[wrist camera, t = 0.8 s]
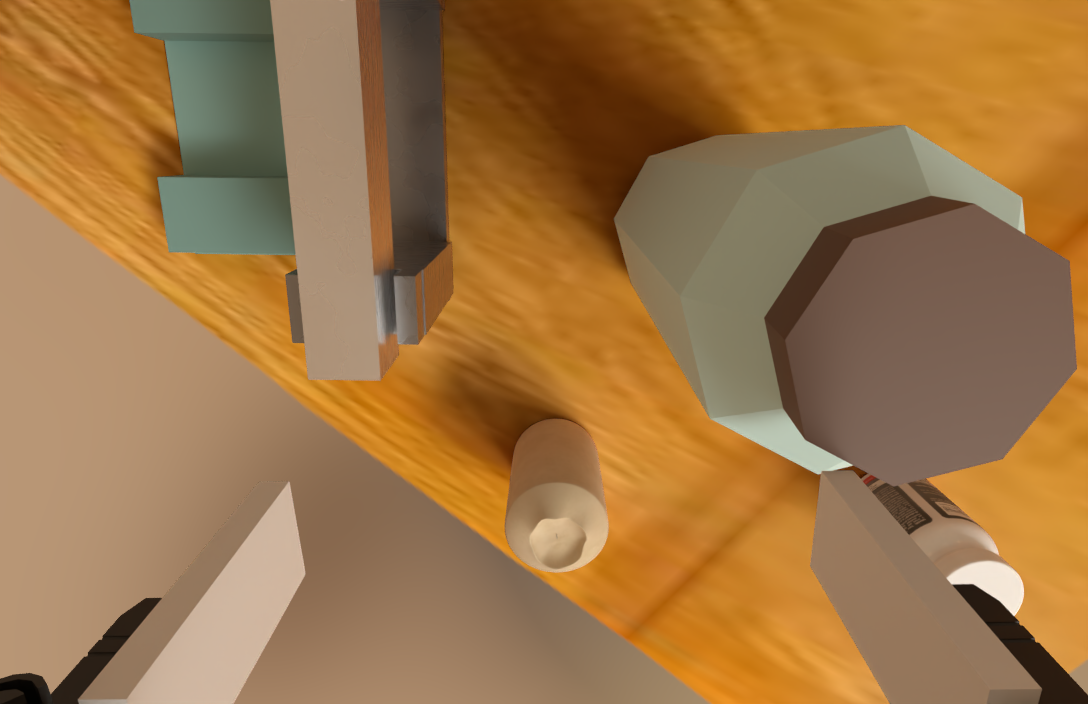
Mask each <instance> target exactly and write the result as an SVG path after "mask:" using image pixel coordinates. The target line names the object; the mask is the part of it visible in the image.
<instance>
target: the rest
mask: <svg viewBox="0 0 1088 704" xmlns="http://www.w3.org/2000/svg"><path fill="white" fill-rule="evenodd" d="M129 1H130V7H131V13H132V20H133V26H134V33H138V34H142V35H145V36H149V37H153V38H157V39H160V40H164V41H165V48H166V55H167V62H168V68H169V75H170V82H171V89H172V96H173V103H174V110H175V117H176V124H177V130H178V137H179V144H180V151H181V158H182V165H183V172H184V175H176V176H164V177H157V179H158V185H159V192H160V198H161V204H162V211H163V217H164V223H165V230H166V236H167V243H168V249H169V252H191V253H195V254H264V255H296V253H295V243H294V233H293V223H292V213H291V204H290V194H289V184H288V174H287V164H286V154H285V144H284V134H283V124H282V114H281V104H280V94H279V84H278V74H277V64H276V54H275V44H274V34H273V24H272V14H271V4H270V0H129Z"/></svg>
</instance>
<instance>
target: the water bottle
mask: <svg viewBox="0 0 1088 704" xmlns="http://www.w3.org/2000/svg"><path fill="white" fill-rule="evenodd" d="M614 222H615V225H616V229H617V233H618V237H619V240H620V244H621V248H622V252H623V255H624V259H625V263H626V267H627V270H628V274H629V278H630V282H631V284H632V286H633V287H634V289H635V291H636V293H637V294H638V296H639V298H640V299H641V301H642V303H643V305H644V306H645V308H646V310H647V311H648V313H649V315H650V317H651V318H652V320H653V322H654V323H655V325H656V327H657V329H658V330H659V332H660V334H661V335H662V337H663V339H664V341H665V342H666V344H667V346H668V347H669V349H670V351H671V353H672V354H673V356H674V358H675V359H676V361H677V363H678V365H679V366H680V368H681V370H682V371H683V373H684V375H685V377H686V378H687V380H688V382H689V383H690V385H691V387H692V389H693V390H694V392H695V394H696V395H697V397H698V399H699V401H700V402H701V404H702V406H703V407H704V409H705V411H706V413H707V414H708V416H709V418H710V419H712V420H714V421H716V422H718V423H720V424H721V425H723V426H725V427H727V428H729V429H731V430H733V431H735V432H737V433H739V434H741V435H743V436H745V437H747V438H748V439H750V440H752V441H754V442H756V443H758V444H760V445H762V446H764V447H766V448H768V449H770V450H772V451H774V452H775V453H777V454H779V455H781V456H783V457H785V458H787V459H789V460H791V461H793V462H795V463H797V464H799V465H801V466H802V467H804V468H806V469H808V470H810V471H812V472H814V473H816V474H821V471H833V470H837V469H841V468H845V467H849V466H855V467H857V468H859V469H861V470H863V471H865V472H867V473H869V474H871V475H872V476H874V477H876V478H878V479H880V480H882V481H884V482H886V483H888V484H890V485H892V486H893V487H894V486H898V485H902V484H906V483H910V482H914V481H918V480H922V479H926V478H929V477H933V476H937V475H941V474H945V473H949V472H953V471H957V470H961V469H965V468H969V467H973V466H977V465H981V464H985V463H989V462H993V461H997V460H1001V459H1003V458H1004V457H1005V455H1006V454H1007V453H1008V452H1009V451H1010V449H1011V448H1012V447H1013V446H1014V444H1015V443H1016V442H1017V441H1018V440H1019V438H1020V437H1021V436H1022V435H1023V434H1024V432H1025V431H1026V430H1027V429H1028V427H1029V426H1030V425H1031V424H1032V423H1033V421H1034V420H1035V419H1036V418H1037V417H1038V415H1039V414H1040V413H1041V412H1042V411H1043V409H1044V408H1045V407H1046V406H1047V404H1048V403H1049V402H1050V401H1051V400H1052V398H1053V397H1054V396H1055V395H1056V394H1057V392H1058V391H1059V390H1060V389H1061V387H1062V386H1063V385H1064V384H1065V383H1066V381H1067V380H1068V379H1069V378H1070V377H1071V375H1072V374H1073V373H1074V372H1075V371H1076V369H1077V365H1076V350H1075V335H1074V321H1073V306H1072V291H1071V276H1070V261H1068V260H1067V259H1065V258H1063V257H1062V256H1060V255H1058V254H1057V253H1055V252H1054V251H1052V250H1050V249H1049V248H1047V247H1045V246H1044V245H1042V244H1040V243H1039V242H1037V241H1035V240H1034V239H1032V238H1031V237H1029V236H1027V235H1026V234H1025V227H1024V216H1023V204H1022V197H1020V196H1019V195H1017V194H1015V193H1014V192H1012V191H1011V190H1009V189H1007V188H1006V187H1004V186H1002V185H1001V184H999V183H998V182H996V181H994V180H993V179H991V178H990V177H988V176H986V175H985V174H983V173H981V172H980V171H978V170H977V169H975V168H973V167H972V166H970V165H968V164H967V163H965V162H964V161H962V160H960V159H959V158H957V157H955V156H954V155H952V154H951V153H949V152H947V151H946V150H944V149H943V148H941V147H939V146H938V145H936V144H934V143H933V142H931V141H930V140H928V139H926V138H925V137H923V136H921V135H920V134H918V133H917V132H915V131H913V130H912V129H910V128H908V127H907V126H905V125H897V126H879V127H860V128H842V129H823V130H805V131H787V132H768V133H750V134H731V135H716V136H713V137H710V138H707V139H703V140H700V141H697V142H694V143H690V144H687V145H684V146H681V147H678V148H674V149H671V150H668V151H665V152H661V153H658V154H655V155H652V156H649V157H648V158H647V160H646V162H645V164H644V166H643V167H642V169H641V171H640V173H639V174H638V176H637V178H636V180H635V182H634V183H633V185H632V187H631V189H630V191H629V192H628V194H627V196H626V198H625V199H624V201H623V203H622V205H621V207H620V208H619V210H618V212H617V214H616V216H615V217H614Z"/></svg>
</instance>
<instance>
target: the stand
mask: <svg viewBox="0 0 1088 704" xmlns="http://www.w3.org/2000/svg"><path fill="white" fill-rule="evenodd" d="M379 8H380V26H381V44H382V62H383V79H384V97H385V115H386V133H387V151H388V168H389V186H390V204H391V222H392V239H393V257H394V275H395V276H394V286H395V304H396V321H397V339H398V344H417V345H418V344H419V343H420V341H421V340H422V338H423V337H424V335H426V334H427V332H428V331H429V329H430V328H431V326H432V325H433V323H434V322H435V320H436V319H437V317H438V316H439V314H440V313H441V311H442V309H443V308H444V306H445V305H446V303H447V302H448V301H449V300H450V298H451V296H452V294H453V262H452V242H449V216H448V183H447V151H446V119H445V86H444V54H443V21H442V10H445V0H379ZM285 276H286V285H287V295H288V304H289V314H290V323H291V333H292V342H293V343H304V333H303V323H302V313H301V303H300V293H299V283H298V273H297V269H296V270H294V271H292V272H290V273H288V274H286V275H285Z"/></svg>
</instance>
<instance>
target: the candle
mask: <svg viewBox="0 0 1088 704" xmlns="http://www.w3.org/2000/svg"><path fill="white" fill-rule="evenodd" d="M608 527H609V525H608V517H607V510H606V504H605V497H604V491H603V484H602V478H601V471H600V464H599V458H598V453H597V449H596V446H595V443H594V441H593V439H592V438H591V436H590V435H589V434H588V432H587V431H586V430H585V429H584V428H582V427H581V426H580V425H578V424H576V423H574V422H572V421H569V420H565V419H546V420H542V421H539V422H537V423H535V424H533V425H532V426H530V427H529V428H527V429H526V430H525V431H524V432H523V434H522V435H521V436H520V438H519V439H518V441H517V443H516V446H515V449H514V454H513V460H512V469H511V477H510V485H509V494H508V502H507V510H506V519H505V534H506V538H507V541H508V544H509V546H510V548H511V549H512V551H513V552H514V553H515V554H516V556H517V557H518V558H519V559H521V560H522V561H523V562H525V563H526V564H528V565H529V566H531V567H533V568H536V569H539V570H542V571H547V572H567V571H571V570H575V569H577V568H580V567H582V566H584V565H586V564H587V563H589V562H590V561H592V560H593V559H594V558H595V557H596V556H597V555H598V554H599V553H600V551H601V550H602V548H603V546H604V544H605V542H606V539H607V536H608Z"/></svg>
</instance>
